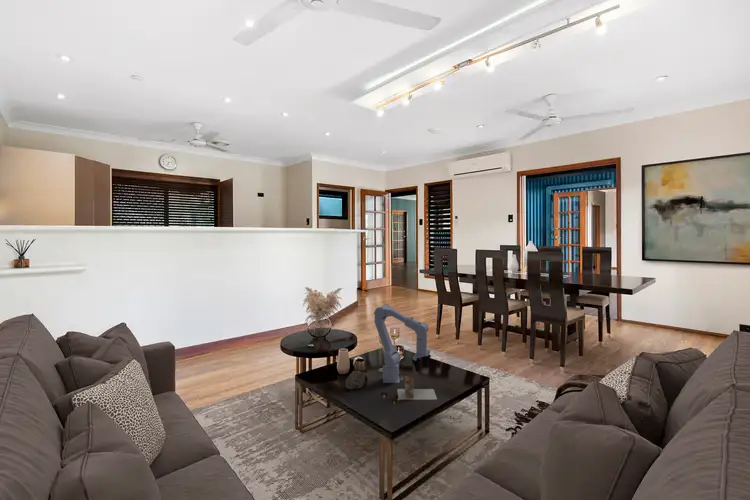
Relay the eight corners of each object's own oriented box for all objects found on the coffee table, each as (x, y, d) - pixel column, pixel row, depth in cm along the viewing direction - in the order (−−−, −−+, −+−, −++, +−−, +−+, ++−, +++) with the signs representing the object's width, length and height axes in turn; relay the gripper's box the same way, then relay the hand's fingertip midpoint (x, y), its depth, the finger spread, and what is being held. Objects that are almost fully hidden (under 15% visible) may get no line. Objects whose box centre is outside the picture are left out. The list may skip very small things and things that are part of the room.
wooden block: (405, 397, 188) (406, 380, 188) (405, 392, 194) (405, 376, 194) (413, 397, 188) (413, 380, 188) (412, 392, 194) (412, 376, 194)
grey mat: (398, 400, 186) (398, 399, 186) (397, 389, 198) (397, 389, 198) (437, 400, 186) (437, 399, 186) (433, 389, 198) (433, 389, 198)
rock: (348, 390, 195) (352, 371, 197) (343, 387, 201) (347, 368, 203) (367, 392, 201) (371, 373, 203) (361, 389, 206) (365, 371, 209)
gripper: (420, 350, 192) (420, 375, 193) (434, 343, 203) (434, 367, 204) (409, 347, 197) (409, 371, 197) (423, 341, 208) (423, 364, 208)
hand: (421, 369), depth 201 cm, fingers open, 7 cm apart
